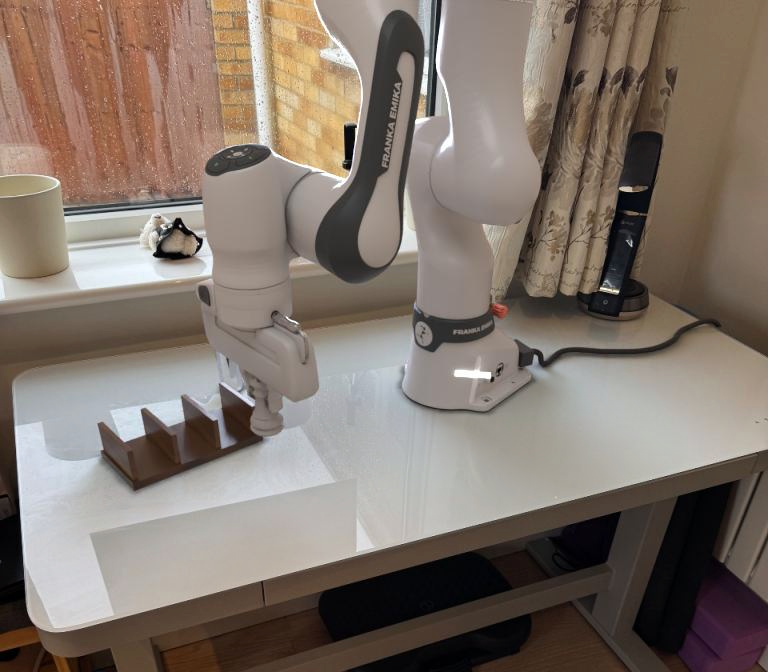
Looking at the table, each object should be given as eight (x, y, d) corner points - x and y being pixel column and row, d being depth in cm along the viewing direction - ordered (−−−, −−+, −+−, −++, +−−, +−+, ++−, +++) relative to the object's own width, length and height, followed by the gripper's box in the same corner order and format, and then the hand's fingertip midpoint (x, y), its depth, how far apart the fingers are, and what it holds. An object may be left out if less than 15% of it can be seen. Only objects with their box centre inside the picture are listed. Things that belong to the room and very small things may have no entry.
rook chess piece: (282, 438, 97) (277, 383, 92) (248, 438, 97) (241, 383, 92) (286, 420, 100) (281, 366, 95) (253, 419, 100) (246, 366, 95)
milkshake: (245, 397, 118) (239, 338, 112) (213, 393, 119) (206, 334, 113) (255, 383, 122) (250, 326, 116) (224, 380, 123) (217, 322, 117)
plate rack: (227, 412, 114) (223, 379, 111) (263, 440, 108) (260, 406, 105) (101, 457, 104) (93, 422, 100) (134, 490, 98) (126, 454, 94)
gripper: (329, 321, 83) (333, 427, 91) (231, 269, 95) (244, 367, 104) (281, 337, 80) (291, 445, 88) (187, 281, 92) (203, 381, 100)
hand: (265, 402), depth 96 cm, fingers closed on rook chess piece, 3 cm apart
